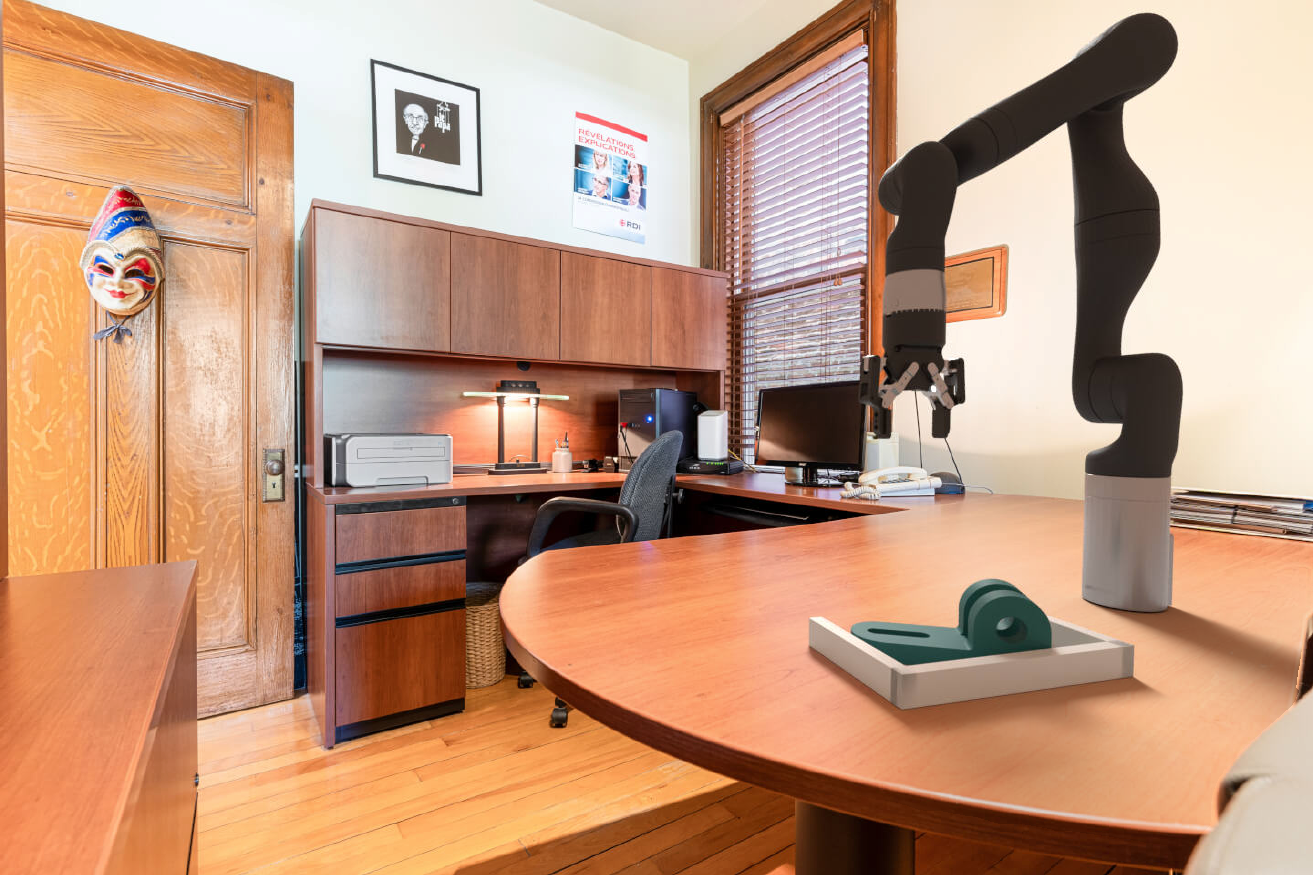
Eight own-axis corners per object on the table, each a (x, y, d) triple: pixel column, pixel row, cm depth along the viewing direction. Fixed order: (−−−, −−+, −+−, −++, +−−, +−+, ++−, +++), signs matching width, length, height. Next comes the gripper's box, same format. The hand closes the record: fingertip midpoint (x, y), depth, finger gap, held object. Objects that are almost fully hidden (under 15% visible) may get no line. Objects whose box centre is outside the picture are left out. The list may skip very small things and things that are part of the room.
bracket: (1028, 655, 65) (1029, 580, 65) (1050, 681, 59) (1052, 598, 59) (849, 638, 70) (850, 569, 70) (851, 661, 63) (853, 584, 63)
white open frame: (1002, 624, 74) (1003, 599, 74) (1133, 676, 59) (1134, 645, 59) (808, 644, 67) (808, 617, 67) (901, 709, 52) (902, 674, 52)
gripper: (939, 318, 84) (937, 437, 85) (848, 313, 81) (846, 437, 81) (982, 309, 77) (979, 439, 78) (884, 303, 73) (881, 439, 74)
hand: (911, 438), depth 79 cm, fingers open, 8 cm apart
